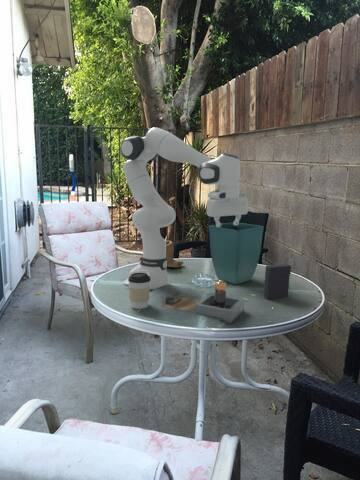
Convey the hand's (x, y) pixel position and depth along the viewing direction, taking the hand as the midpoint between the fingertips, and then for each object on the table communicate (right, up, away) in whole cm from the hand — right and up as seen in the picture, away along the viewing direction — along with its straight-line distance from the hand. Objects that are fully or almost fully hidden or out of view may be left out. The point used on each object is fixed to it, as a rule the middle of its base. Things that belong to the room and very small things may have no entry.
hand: (227, 226), depth 174 cm
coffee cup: (-37, -35, -5) cm, 51 cm away
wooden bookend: (-27, -22, +61) cm, 70 cm away
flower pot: (+8, -27, +38) cm, 47 cm away
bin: (-4, -36, -9) cm, 37 cm away
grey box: (+23, -32, +11) cm, 41 cm away
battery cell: (-4, -35, -9) cm, 36 cm away
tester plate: (-18, -34, -2) cm, 39 cm away
